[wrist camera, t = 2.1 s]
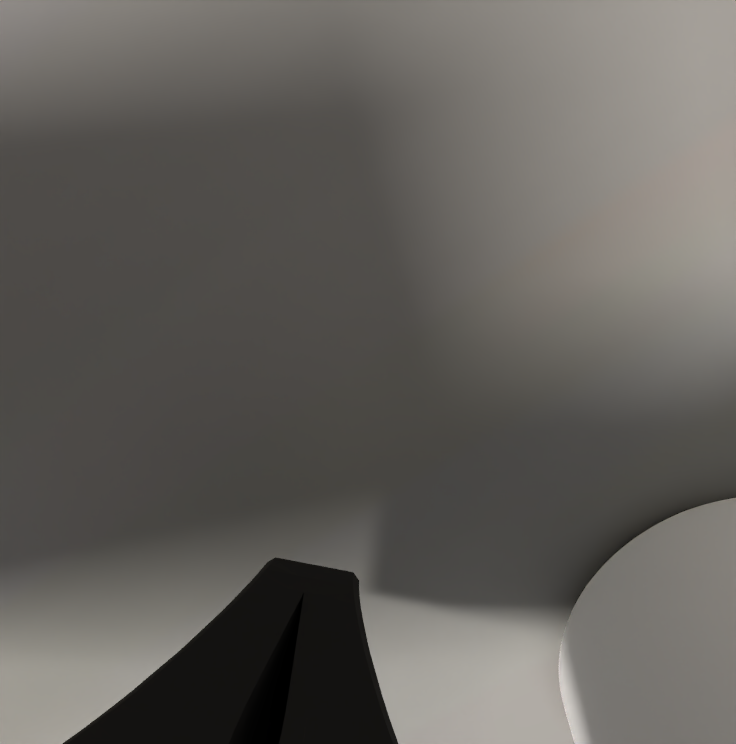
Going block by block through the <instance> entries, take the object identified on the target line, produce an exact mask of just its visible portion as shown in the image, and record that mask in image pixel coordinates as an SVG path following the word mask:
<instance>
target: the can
mask: <svg viewBox="0 0 736 744" xmlns="http://www.w3.org/2000/svg"><path fill="white" fill-rule="evenodd" d="M559 684H560V690H561V695H562V700H563V704H564V709H565V712H566V716H567V719H568V722H569V726H570V729H571V733H572V736H573V740H574V743H575V744H736V498H731V499H726V500H721V501H716V502H712V503H708V504H704V505H701V506H698V507H695V508H692V509H689V510H686V511H684V512H681V513H679V514H676V515H674V516H672V517H670V518H668V519H666V520H664V521H662V522H660V523H658V524H656V525H654V526H653V527H651V528H649V529H648V530H646V531H644V532H643V533H641V534H640V535H638V536H637V537H635V538H634V539H633V540H631V541H630V542H629V543H627V544H626V545H625V546H623V547H622V548H621V549H620V550H619V551H618V552H616V553H615V554H614V555H613V556H612V557H611V558H610V559H609V560H608V561H607V562H606V563H605V564H604V565H603V566H602V567H601V568H600V569H599V570H598V572H597V573H596V574H595V575H594V576H593V578H592V579H591V580H590V582H589V583H588V584H587V586H586V587H585V589H584V590H583V592H582V593H581V595H580V596H579V598H578V600H577V602H576V604H575V606H574V608H573V609H572V612H571V614H570V616H569V619H568V621H567V624H566V627H565V630H564V634H563V637H562V642H561V647H560V654H559Z"/></svg>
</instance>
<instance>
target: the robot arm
mask: <svg viewBox="0 0 736 744" xmlns="http://www.w3.org/2000/svg"><path fill="white" fill-rule="evenodd" d="M63 744H398V742H397V739H396V736H395V733H394V730H393V727H392V725H391V722H390V719H389V716H388V713H387V710H386V706H385V703H384V700H383V697H382V694H381V690H380V687H379V683H378V680H377V676H376V673H375V669H374V665H373V662H372V658H371V655H370V650H369V646H368V642H367V638H366V633H365V628H364V623H363V618H362V612H361V605H360V597H359V580H358V578H357V577H356V576H355V574H354V573H353V572H348V571H343V570H338V569H333V568H327V567H322V566H317V565H312V564H306V563H301V562H296V561H291V560H286V559H280V558H274V559H272V560H271V561H269V562H267V563H266V565H265V566H264V567H263V568H262V569H261V571H260V572H259V573H258V574H257V575H256V576H255V577H254V578H253V580H252V581H251V582H250V583H249V584H248V585H247V586H246V587H245V588H244V589H243V590H242V591H241V592H240V593H239V594H238V596H237V597H236V598H235V599H234V600H233V601H232V602H231V603H230V604H229V605H228V606H227V607H226V608H225V609H224V610H223V611H222V612H221V613H220V614H219V615H217V616H216V617H215V618H214V619H213V620H212V621H211V622H210V623H209V624H208V625H207V626H206V627H205V628H204V629H203V630H202V631H200V632H199V633H198V634H197V635H196V636H195V637H194V638H193V639H192V640H191V641H190V642H189V643H188V644H187V645H186V646H184V647H183V648H182V649H181V650H180V651H179V652H178V653H177V654H175V655H174V656H173V657H172V658H171V659H169V660H168V661H167V662H166V663H165V664H163V665H162V666H161V667H160V668H159V669H158V670H156V671H155V672H154V673H153V674H152V675H150V676H149V677H148V678H147V679H146V680H145V681H143V682H142V683H141V684H140V685H139V686H137V687H136V688H135V689H134V690H133V691H131V692H130V693H129V694H128V695H127V696H125V697H124V698H123V699H121V700H120V701H119V702H118V703H116V704H115V705H114V706H113V707H111V708H110V709H109V710H107V711H106V712H105V713H104V714H102V715H101V716H100V717H98V718H97V719H96V720H94V721H93V722H92V723H90V724H89V725H88V726H86V727H85V728H84V729H82V730H81V731H80V732H78V733H77V734H75V735H74V736H73V737H71V738H70V739H68V740H67V741H66V742H64V743H63Z"/></svg>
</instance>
